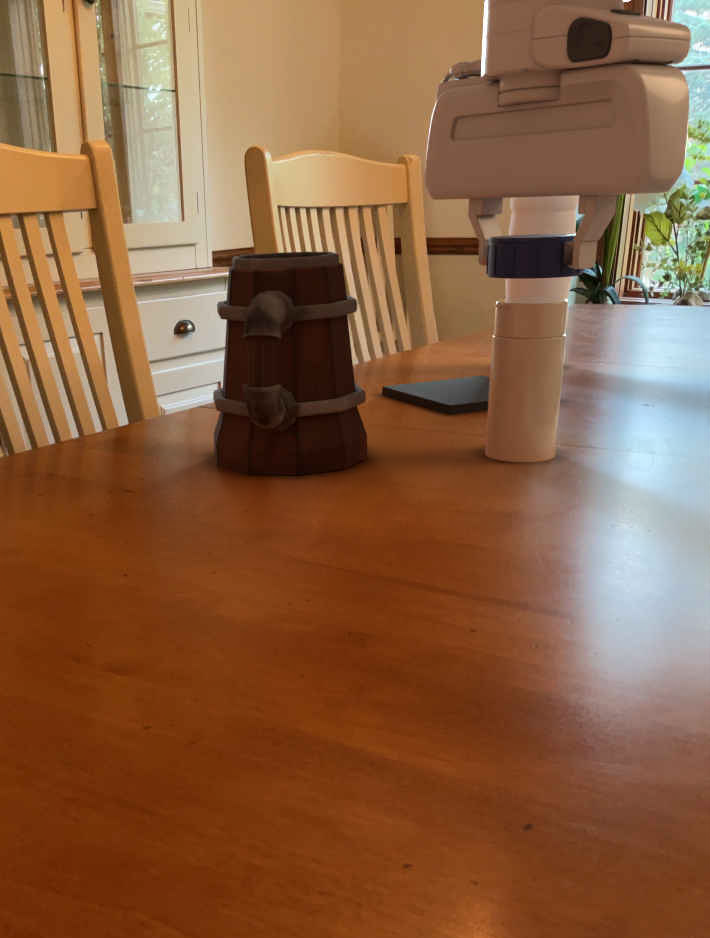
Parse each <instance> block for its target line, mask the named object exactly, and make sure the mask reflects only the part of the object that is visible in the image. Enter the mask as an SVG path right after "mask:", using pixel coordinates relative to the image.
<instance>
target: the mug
mask: <svg viewBox="0 0 710 938" xmlns="http://www.w3.org/2000/svg"><path fill="white" fill-rule="evenodd" d="M216 311H217V314H218V316H219V318H220V320H226V323H225V324H226V325H225V342H224V346H225V347H224V357H223V358H224V359H223V375H222V376H223V377H222V387H221V388H218V389H214V391H213V393H212V395H213V397H212V398H213V403H214V406H215V407H214V408H215V410H216V412H219V415H218V417H217V421H216V425H215V428H214V431H213V446H214V447H213V448H214V449H213V451H214V458H215V463H216V467H218V468H222V469H226V470H229V471H234V472H238V473H242V474H246V475H252V476H288V477H290V476H294V477H301V476H306V475H307V476H308V475H315V474H322V473H330V472H335V471H341V470H342V471H343V470H345V469H347V468H349V467H351V466H354V465H355V464H357V463H359V462H361V461H363V460H365V459H367V458H368V433H367V431H366V428H365V425H364V423H363V420H362V417H361V414H360V411H359V408H358V406H360V405H362V404H365V402H366V400H367V398H366V391H365V389H363V388H362V387H361V386H360V385H359V384H358V383H357V382H356V381H355V372H354V364H353V355H352V354H353V353H352V346H351V335H350V327H349V326H350V325H349V317H348V315H349V314H354V313H357V311H358V300H357V299H356V298H355V297H353V296H350V295H349V294H347V288H346V279H345V271H344V265H343V263H342V262H340V255H339V254H338V253H336V252H335V251H287V252H286V251H285V252H283V251H282V252H269V253H268V252H266V253H254V254H245V255H244V254H243V255H237V256H233V257H232V259H231V265H230V266H229V267H228V277H227V290H226V300H221V301H217V304H216Z"/></svg>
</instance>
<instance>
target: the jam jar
mask: <svg viewBox="0 0 710 938" xmlns="http://www.w3.org/2000/svg"><path fill="white" fill-rule="evenodd" d="M493 307H494V308H495V309H494V325H493V334H492V336H491V349H490V350H491V351H490V367H489V377H490V380H489V396H488V410H487V411H486V415H487V416H486V428H485V429H486V430H485V431H486V432H485V447H484V455H485V456H486V457H487V458H490V459H492V460H497V461H502V462H511V463H539V462H544V461H549V460H551V459H553V458H555V457H556V450H557V441H558V440H557V439H558V428H559V418H560V407H561V395H562V385H563V373H564V372H563V371H564V364H563V362H564V363H565V360H564V351H565V352H566V341H567V339H566V337H567V335H566V332H565V324H566V312H567V300H566V299H561V298H550V297H518V298H506V297H505V298H499V299H497V300H496V301H495V303H493Z"/></svg>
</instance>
